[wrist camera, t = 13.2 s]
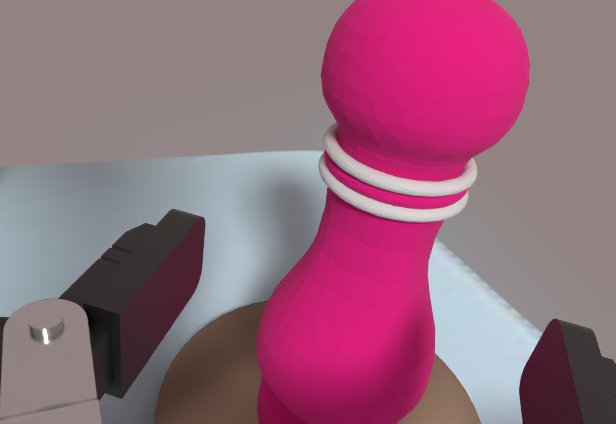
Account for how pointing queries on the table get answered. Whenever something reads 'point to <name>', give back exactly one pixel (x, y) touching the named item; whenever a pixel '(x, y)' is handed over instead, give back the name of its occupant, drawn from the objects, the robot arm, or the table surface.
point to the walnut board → (247, 377)
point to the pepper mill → (386, 204)
